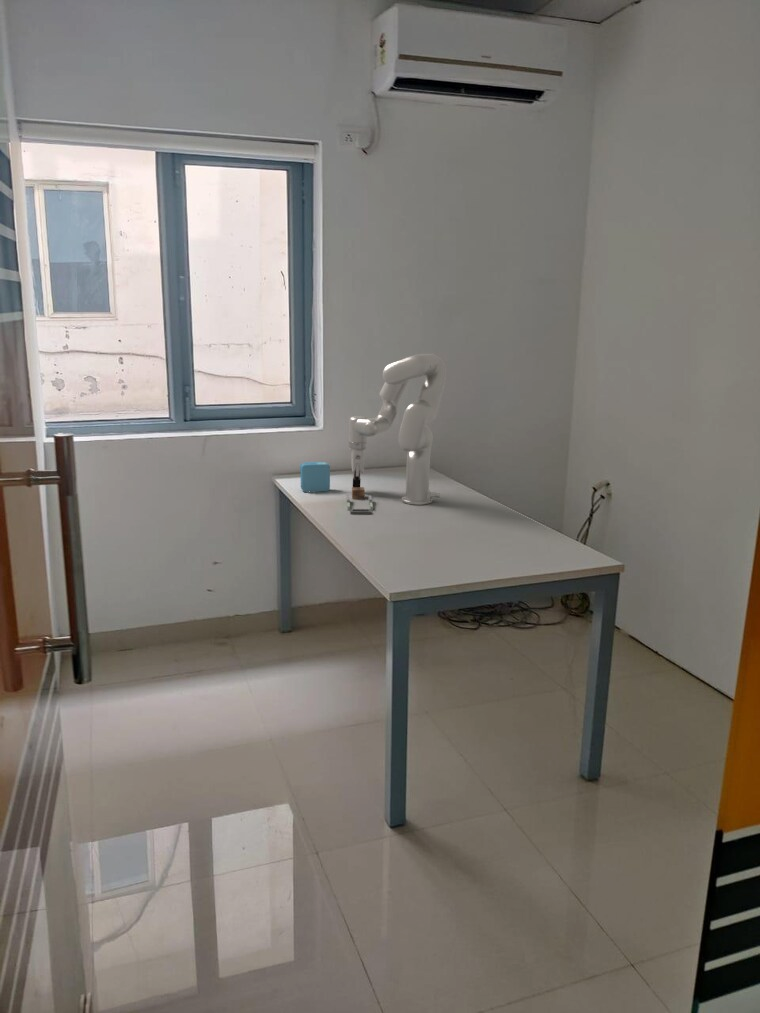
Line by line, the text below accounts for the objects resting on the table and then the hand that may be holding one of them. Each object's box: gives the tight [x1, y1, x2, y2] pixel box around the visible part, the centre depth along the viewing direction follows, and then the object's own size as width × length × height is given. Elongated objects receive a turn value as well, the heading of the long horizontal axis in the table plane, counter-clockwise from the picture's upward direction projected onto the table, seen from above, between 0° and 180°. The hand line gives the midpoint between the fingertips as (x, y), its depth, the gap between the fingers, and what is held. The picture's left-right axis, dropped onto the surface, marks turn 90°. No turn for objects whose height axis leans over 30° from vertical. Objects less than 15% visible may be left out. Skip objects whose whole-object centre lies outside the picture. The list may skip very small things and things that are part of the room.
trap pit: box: [349, 508, 372, 515], centre depth 302 cm, size 8×4×1 cm, turn 94°
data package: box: [300, 461, 331, 493], centre depth 334 cm, size 12×4×12 cm, turn 104°
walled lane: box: [346, 494, 373, 506], centre depth 316 cm, size 10×7×2 cm
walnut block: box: [351, 486, 366, 500], centre depth 325 cm, size 5×5×4 cm
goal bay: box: [346, 502, 374, 511], centre depth 309 cm, size 10×6×2 cm, turn 94°
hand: (356, 487), depth 334 cm, fingers closed
